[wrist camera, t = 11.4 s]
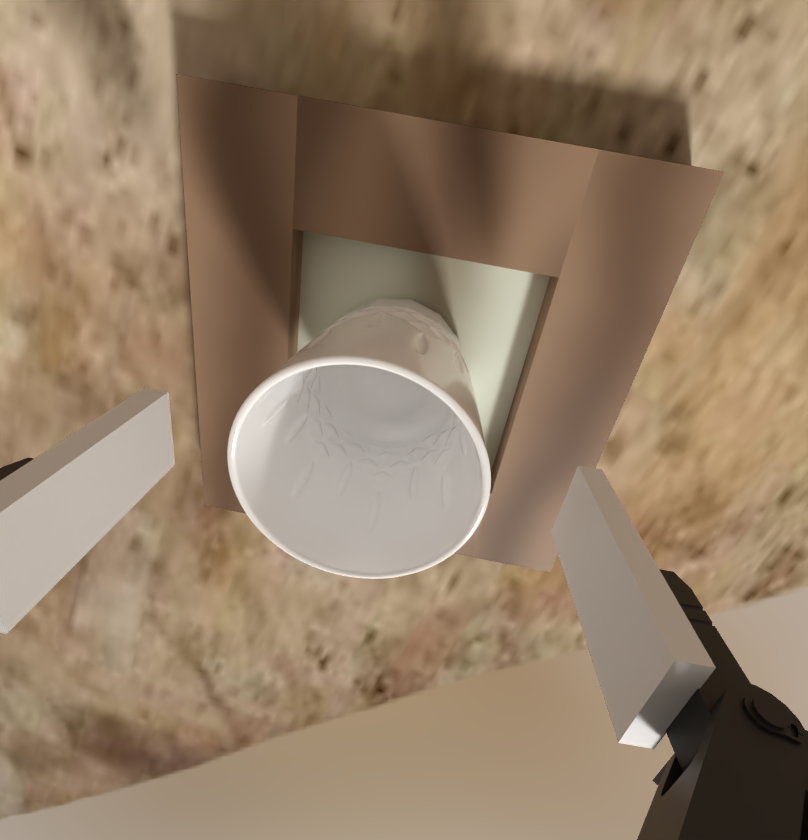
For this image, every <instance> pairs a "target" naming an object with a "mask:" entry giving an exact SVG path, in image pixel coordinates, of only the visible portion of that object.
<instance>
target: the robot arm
mask: <svg viewBox="0 0 808 840" xmlns="http://www.w3.org/2000/svg"><path fill="white" fill-rule="evenodd" d="M174 465H175V460H174V449H173V438H172V427H171V415H170V404H169V393H168V392H166V391H161V390H155V389H149V388H143V389H141V390H140V391H138V392H137V393H135V394H134V395H132V396H131V397H129V398H128V399H126V400H124V401H123V402H121V403H120V404H118V405H117V406H115V407H114V408H112V409H110V410H109V411H107V412H106V413H104V414H103V415H101V416H100V417H98V418H97V419H95V420H93V421H92V422H90V423H89V424H87V425H86V426H84V427H83V428H81V429H80V430H78V431H76V432H75V433H73V434H72V435H70V436H69V437H67V438H66V439H64V440H62V441H61V442H59V443H58V444H56V445H55V446H53V447H52V448H50V449H49V450H47V451H45V452H44V453H42V454H41V455H39V456H38V457H36V458H35V459H33V458H26V459H23V460H21V461H18V462H15V463H12V464H10V465H7V466H4V467H2V468H0V633H6V634H7V633H8V632H9V631H10V630H11V629H12V628H13V627H14V626H15V625H16V624H17V623H18V622H19V621H20V620H21V619H22V618H23V617H24V616H25V615H26V614H27V613H28V612H29V611H30V610H31V609H32V608H33V607H34V606H35V605H36V604H37V603H38V602H39V601H40V600H41V599H42V598H43V597H44V596H45V595H46V594H47V593H48V592H49V591H50V590H51V589H52V588H53V587H54V586H55V585H56V584H57V583H58V582H59V581H60V580H61V579H62V578H63V577H64V576H65V575H66V574H67V573H68V572H69V571H70V570H71V569H72V568H73V567H74V566H75V565H76V564H77V563H78V562H79V561H80V560H81V559H82V558H83V557H84V556H85V555H86V554H87V553H88V552H89V551H90V550H91V549H92V548H93V547H94V546H95V544H96V543H97V542H98V541H99V540H100V539H101V538H102V537H103V536H104V535H105V534H106V533H107V532H108V531H109V530H110V529H111V528H112V527H113V526H114V525H115V524H116V523H117V522H118V521H119V520H120V519H121V518H122V517H123V516H124V515H125V514H126V513H127V512H128V511H129V510H130V509H131V508H132V507H133V506H134V505H135V504H136V503H137V502H138V501H139V500H140V499H141V498H142V497H143V496H144V495H145V494H146V493H147V492H148V491H149V490H150V489H151V488H152V487H153V486H154V485H155V484H156V483H157V482H158V481H159V480H160V479H161V478H162V477H163V476H164V475H165V474H166V473H167V472H168V471H169V470H170V469H171V468H172V467H173V466H174ZM551 533H552V536H553V539H554V543H555V546H556V549H557V552H558V555H559V558H560V561H561V564H562V568H563V571H564V574H565V577H566V580H567V583H568V586H569V590H570V593H571V596H572V599H573V602H574V605H575V608H576V612H577V615H578V618H579V621H580V624H581V627H582V630H583V633H584V637H585V640H586V643H587V646H588V649H589V652H590V655H591V658H592V662H593V665H594V668H595V671H596V674H597V677H598V680H599V684H600V687H601V690H602V693H603V696H604V699H605V702H606V706H607V709H608V712H609V715H610V718H611V721H612V724H613V727H614V731H615V734H616V737H617V740H618V743H623V744H629V745H634V746H640V747H645V748H651V749H654V748H655V747H656V746H657V744H658V743H659V742H660V740H661V739H662V738H663V736H664V735H665V734H666V733H667V735H668V738H669V740H670V742H671V745H672V747H673V750H674V752H675V754H674V755H673V756H672V757H671V758H670V760H669V761H668V762H667V763H666V765H665V766H664V767H663V768H662V769H661V771H660V772H659V773H658V774H657V776H656V777H655V778H654V779H653V781H654V782H655V783H656V784H657V785H659V786H658V788H657V791H656V793H655V796H654V798H653V801H652V804H651V806H650V809H649V811H648V813H647V816H646V819H645V821H644V824H643V826H642V829H641V831H640V834H639V836H638V839H637V840H808V731H806V730H805V729H804V728H803V726H802V724H801V723H800V721H799V720H798V718H797V717H796V716H795V715H794V714H793V713H792V712H791V711H790V709H789V708H788V707H787V706H786V705H785V704H783V703H782V702H781V701H779V700H778V699H777V698H776V697H774V696H773V695H772V694H770V693H769V692H767V691H765V690H763V689H761V688H759V687H757V686H755V685H752V684H751V683H750V682H749V680H748V679H747V677H746V675H745V674H744V672H743V671H742V669H741V667H740V666H739V664H738V663H737V661H736V659H735V658H734V656H733V655H732V653H731V652H730V650H729V648H728V647H727V645H726V644H725V642H724V640H723V639H722V637H721V636H720V634H719V632H718V631H717V629H716V628H715V626H712V621H711V620H710V618H709V616H708V615H707V613H706V612H705V611H703V609H702V608H703V607H702V605H701V604H700V602H699V601H698V599H697V597H696V596H695V594H694V593H693V591H692V589H691V588H690V587H689V586H688V585H687V584H686V583H684V582H683V581H682V580H681V579H680V578H679V577H678V576H677V575H676V574H675V573H674V572H671V571H666V570H660V569H659V568H658V566H657V565H656V563H655V561H654V559H653V558H652V556H651V554H650V552H649V551H648V549H647V547H646V545H645V544H644V542H643V540H642V539H641V537H640V535H639V533H638V532H637V530H636V528H635V526H634V525H633V523H632V521H631V519H630V518H629V516H628V514H627V512H626V511H625V509H624V507H623V505H622V504H621V502H620V500H619V499H618V497H617V495H616V493H615V492H614V490H613V488H612V486H611V485H610V483H609V481H608V479H607V478H606V476H605V474H604V472H603V471H602V470H601V469H595V468H589V467H584V466H578V467H577V469H576V472H575V474H574V477H573V479H572V482H571V484H570V487H569V489H568V492H567V494H566V497H565V499H564V501H563V504H562V506H561V509H560V511H559V514H558V516H557V519H556V521H555V524H554V526H553V529H552V531H551Z"/></svg>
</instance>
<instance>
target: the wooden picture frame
mask: <svg viewBox="0 0 808 840" xmlns="http://www.w3.org/2000/svg"><path fill="white" fill-rule="evenodd" d="M176 78H177V93H178V109H179V124H180V139H181V155H182V170H183V186H184V201H185V216H186V232H187V247H188V263H189V278H190V293H191V309H192V324H193V340H194V355H195V370H196V386H197V401H198V416H199V432H200V447H201V463H202V478H203V493H204V505H205V506H211V507H216V508H221V509H226V510H231V511H237V512H242V513H245V511H244V509H243V508H242V506H241V504H240V502H239V500H238V498H237V496H236V494H235V491H234V489H233V486H232V483H231V479H230V475H229V470H228V462H227V447H228V439H229V434H230V430H231V427H232V424H233V421H234V419H235V417H236V414H237V412H238V411H239V409H240V407H241V406H242V404H243V403H244V401H245V400H246V398H247V397H248V396H249V395H250V394H251V393H252V391H253V390H254V389H255V388H256V387H257V386H259V385H260V384H261V383H262V382H263V381H264V380H266V379H267V378H268V377H269V376H270V375H272V374H273V373H274V372H275V371H276V370H277V369H279V368H280V367H281V366H282V365H283V364H284V363H286V362H287V361H288V360H289V359H290V358H291V357H293V356H294V355H295V354H296V353H297V352H298V351H299V350H301V349H302V348H303V347H304V346H305V345H306V344H307V343H309V342H310V341H311V340H312V339H313V338H315V337H316V336H317V335H318V334H320V333H321V332H323V331H324V330H325V329H326V328H327V327H329V326H330V325H331V324H333V323H334V322H336V321H337V320H339V319H340V318H342V317H343V316H345V315H346V314H347V313H348V312H349V311H351V310H353V309H355V308H358V307H360V306H362V305H364V304H366V303H368V302H371V301H373V300H375V299H377V298H395V299H412V300H414V301H416V302H418V303H420V304H422V305H423V306H425V307H427V308H429V309H431V310H433V311H435V312H437V313H439V314H440V315H441V316H442V317H443V319H444V320H445V321H446V323H447V324H448V326H449V327H450V328H451V330H452V331H453V332H454V334H455V335H456V336H457V338H458V339H459V341H460V346H461V352H462V355H463V357H464V360H465V362H466V364H467V367H468V370H469V374H470V378H471V382H472V385H473V389H474V392H475V396H476V400H477V406H478V411H479V416H480V420H481V425H482V430H483V434H484V439H485V444H486V448H487V453H488V457H489V462H490V470H491V489H490V496H489V501H488V505H487V508H486V511H485V513H484V516H483V518H482V520H481V522H480V524H479V526H478V527H477V529H476V530H475V532H474V533H473V535H472V536H471V537H470V538H469V540H468V541H467V542H466V543H465V544H464V545H463V546H462V547H461V548H460V549H458V550H457V551H456V552H455V553H454V554H459V555H464V556H470V557H475V558H480V559H485V560H490V561H495V562H501V563H506V564H511V565H516V566H521V567H526V568H532V569H537V570H542V571H547V572H550V571H551V569H552V567H553V564H554V562H555V560H556V558H557V555H558V552H557V549H556V546H555V543H554V539H553V536H552V533H551V531H552V529H553V526H554V524H555V521H556V519H557V516H558V514H559V511H560V509H561V506H562V504H563V501H564V499H565V497H566V494H567V492H568V489H569V487H570V484H571V482H572V479H573V477H574V474H575V472H576V469H577V467H578V466H584V467H589V468H596V466H597V463H598V461H599V459H600V456H601V454H602V452H603V449H604V447H605V445H606V443H607V440H608V438H609V436H610V433H611V431H612V429H613V426H614V424H615V422H616V420H617V417H618V415H619V413H620V410H621V408H622V406H623V403H624V401H625V399H626V397H627V394H628V392H629V390H630V387H631V385H632V383H633V380H634V378H635V376H636V374H637V371H638V369H639V367H640V364H641V362H642V360H643V357H644V355H645V353H646V351H647V348H648V346H649V344H650V341H651V339H652V337H653V334H654V332H655V330H656V328H657V325H658V323H659V321H660V318H661V316H662V314H663V311H664V309H665V307H666V305H667V302H668V300H669V298H670V295H671V293H672V291H673V288H674V286H675V284H676V282H677V279H678V277H679V275H680V272H681V270H682V268H683V265H684V263H685V261H686V259H687V256H688V254H689V252H690V249H691V247H692V245H693V242H694V240H695V238H696V236H697V233H698V231H699V229H700V226H701V224H702V222H703V219H704V217H705V215H706V213H707V210H708V208H709V206H710V203H711V201H712V199H713V196H714V194H715V192H716V190H717V187H718V185H719V183H720V180H721V178H722V176H723V173H724V172H723V171H717V170H712V169H706V168H701V167H695V166H689V165H684V164H678V163H673V162H667V161H661V160H656V159H650V158H644V157H639V156H633V155H628V154H622V153H616V152H611V151H605V150H600V149H594V148H588V147H583V146H577V145H572V144H566V143H560V142H555V141H549V140H544V139H538V138H532V137H527V136H521V135H516V134H510V133H504V132H499V131H493V130H488V129H482V128H476V127H471V126H465V125H460V124H454V123H448V122H443V121H437V120H432V119H426V118H420V117H415V116H409V115H404V114H398V113H392V112H387V111H381V110H375V109H370V108H364V107H359V106H353V105H347V104H342V103H336V102H331V101H325V100H319V99H314V98H308V97H303V96H297V95H291V94H286V93H280V92H275V91H269V90H263V89H258V88H252V87H247V86H241V85H235V84H230V83H224V82H219V81H213V80H207V79H202V78H196V77H191V76H185V75H179V74H176Z"/></svg>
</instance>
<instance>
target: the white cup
mask: <svg viewBox="0 0 808 840" xmlns="http://www.w3.org/2000/svg"><path fill="white" fill-rule="evenodd" d="M227 462H228V470H229V475H230V479H231V483H232V486H233V489H234V491H235V494H236V496H237V498H238V500H239V502H240V504H241V506H242V508H243V509H244V511H245V513H246V514H247V515H248V517H249V518H250V520H251V521H252V522H253V523H254V525H255V526H256V527H257V528H258V529H259V530H260V531H261V532H262V533H263V534H264V535H265V536H266V537H267V538H268V539H269V540H270V541H271V542H273V543H274V544H275V545H276V546H278V547H279V548H280V549H282V550H283V551H285V552H286V553H288V554H289V555H291V556H293V557H294V558H296V559H298V560H300V561H302V562H304V563H306V564H308V565H310V566H313V567H315V568H318V569H321V570H324V571H327V572H330V573H334V574H338V575H343V576H348V577H355V578H366V579H382V578H393V577H400V576H405V575H409V574H413V573H416V572H419V571H422V570H425V569H427V568H430V567H432V566H434V565H436V564H438V563H440V562H442V561H443V560H445V559H446V558H448V557H449V556H451V555H452V554H454V553H455V552H456V551H457V550H458V549H460V548H461V547H462V546H463V545H464V544H465V543H466V542H467V541H468V540H469V538H470V537H471V536H472V535H473V533H474V532H475V530H476V529H477V527H478V526H479V524H480V522H481V520H482V518H483V516H484V513H485V511H486V508H487V505H488V501H489V496H490V489H491V470H490V462H489V457H488V453H487V448H486V444H485V439H484V434H483V430H482V425H481V420H480V416H479V411H478V406H477V400H476V396H475V392H474V389H473V385H472V382H471V378H470V374H469V370H468V367H467V364H466V362H465V360H464V357H463V355H462V352H461V346H460V341H459V339H458V338H457V336H456V335H455V334H454V332H453V331H452V330H451V328H450V327H449V326H448V324H447V323H446V321H445V320H444V319H443V317H442V316H441V315H440V314H439V313H437V312H435V311H433V310H431V309H429V308H427V307H425V306H423V305H422V304H420V303H418V302H416V301H414V300H412V299H395V298H377V299H375V300H373V301H371V302H368V303H366V304H364V305H362V306H360V307H358V308H355V309H353V310H351V311H349V312H348V313H347V314H346V315H345V316H343V317H342V318H340V319H339V320H337V321H336V322H334V323H333V324H331V325H330V326H329V327H327V328H326V329H325V330H324V331H323V332H321V333H320V334H318V335H317V336H316V337H315V338H313V339H312V340H311V341H310V342H309V343H307V344H306V345H305V346H304V347H303V348H302V349H301V350H299V351H298V352H297V353H296V354H295V355H294V356H293V357H291V358H290V359H289V360H288V361H287V362H286V363H284V364H283V365H282V366H281V367H280V368H279V369H277V370H276V371H275V372H274V373H273V374H272V375H270V376H269V377H268V378H267V379H266V380H264V381H263V382H262V383H261V384H260V385H259V386H257V387H256V388H255V389H254V390H253V391H252V393H251V394H250V395H249V396H248V397H247V398H246V400H245V401H244V403H243V404H242V406H241V407H240V409H239V411H238V412H237V414H236V417H235V419H234V421H233V424H232V427H231V430H230V434H229V439H228V447H227Z"/></svg>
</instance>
